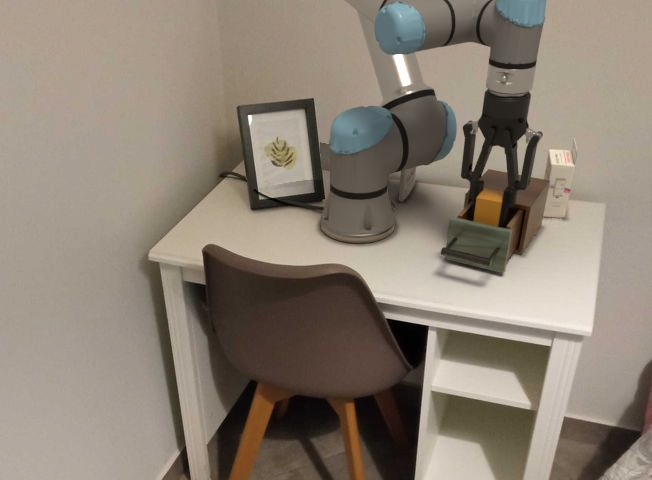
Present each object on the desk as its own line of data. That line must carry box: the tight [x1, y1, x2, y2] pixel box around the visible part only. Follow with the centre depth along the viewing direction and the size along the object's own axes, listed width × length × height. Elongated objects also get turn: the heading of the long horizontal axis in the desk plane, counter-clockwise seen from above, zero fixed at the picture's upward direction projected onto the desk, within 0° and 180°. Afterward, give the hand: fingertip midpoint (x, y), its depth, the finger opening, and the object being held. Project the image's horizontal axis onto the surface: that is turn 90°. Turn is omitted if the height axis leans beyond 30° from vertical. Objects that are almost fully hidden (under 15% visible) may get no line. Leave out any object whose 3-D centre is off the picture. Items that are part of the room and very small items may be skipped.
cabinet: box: [463, 168, 550, 256], centre depth 141 cm, size 14×13×10 cm
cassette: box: [398, 167, 417, 202], centre depth 158 cm, size 12×2×8 cm, turn 159°
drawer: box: [440, 200, 526, 274], centre depth 131 cm, size 19×11×8 cm, turn 149°
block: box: [473, 189, 504, 227], centre depth 130 cm, size 4×4×5 cm
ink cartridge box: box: [543, 136, 579, 219], centre depth 148 cm, size 9×5×15 cm, turn 168°
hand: (488, 218), depth 131 cm, fingers closed on block, 4 cm apart
